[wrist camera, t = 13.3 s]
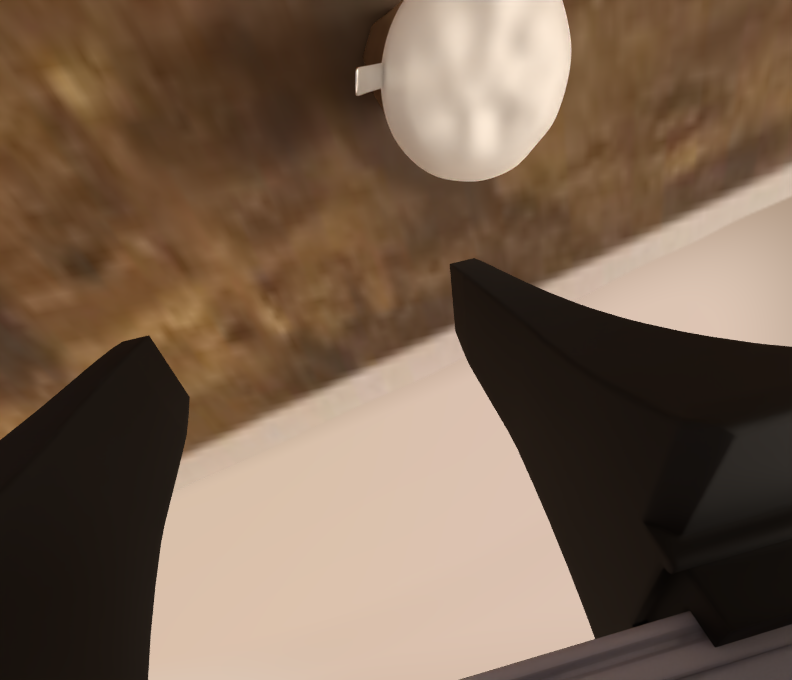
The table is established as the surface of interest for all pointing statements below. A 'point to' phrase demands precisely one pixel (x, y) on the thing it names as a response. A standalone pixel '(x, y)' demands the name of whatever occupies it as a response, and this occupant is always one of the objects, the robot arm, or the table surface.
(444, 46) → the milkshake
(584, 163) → the table surface
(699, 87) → the table surface
